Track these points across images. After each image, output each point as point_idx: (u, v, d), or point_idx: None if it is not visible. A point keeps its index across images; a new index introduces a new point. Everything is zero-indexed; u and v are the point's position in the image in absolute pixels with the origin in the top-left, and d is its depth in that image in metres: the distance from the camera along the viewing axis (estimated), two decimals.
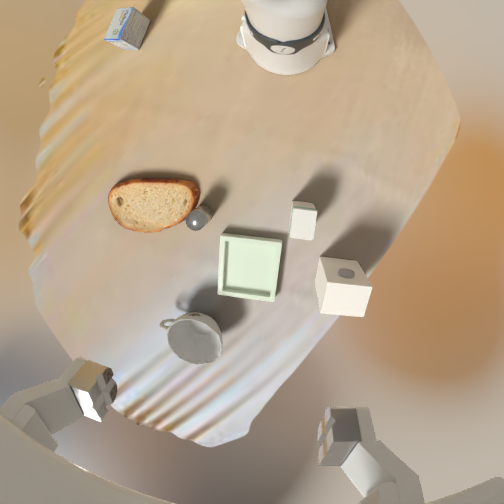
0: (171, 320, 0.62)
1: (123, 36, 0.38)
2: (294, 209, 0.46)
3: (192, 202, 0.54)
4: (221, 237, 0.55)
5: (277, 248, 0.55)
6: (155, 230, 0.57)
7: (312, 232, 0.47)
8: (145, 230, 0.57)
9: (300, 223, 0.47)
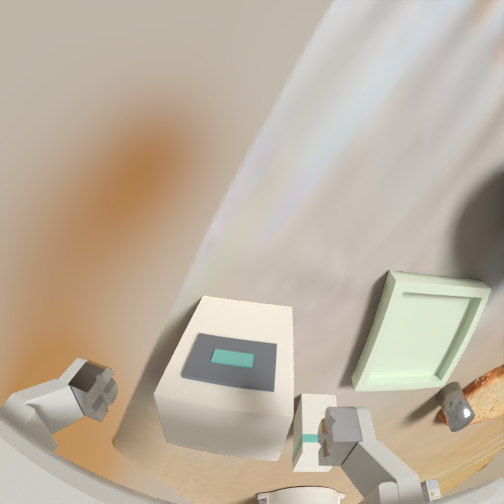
0: None
1: None
2: (327, 470, 0.23)
3: None
4: (443, 384, 0.25)
5: (364, 383, 0.25)
6: None
7: (302, 457, 0.22)
8: None
9: None
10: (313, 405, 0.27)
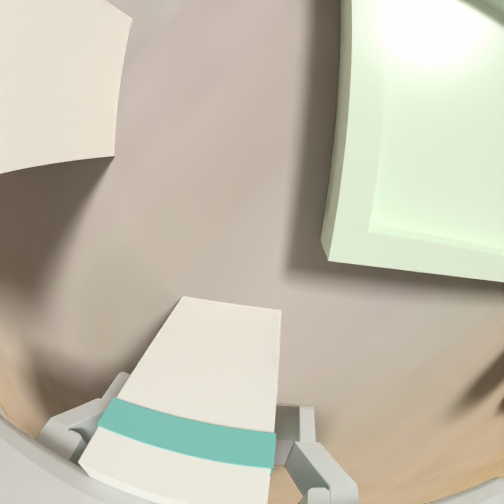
0: None
1: None
2: None
3: None
4: None
5: (360, 222, 0.08)
6: None
7: None
8: None
9: None
10: (202, 325, 0.10)
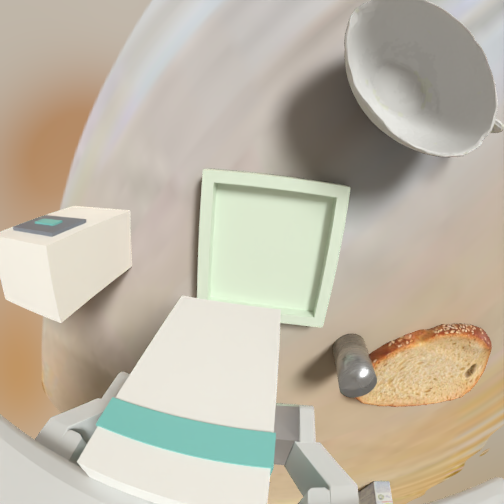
0: None
1: None
2: None
3: None
4: (320, 324, 0.26)
5: None
6: (440, 337, 0.25)
7: None
8: (456, 337, 0.24)
9: None
10: (201, 325, 0.10)
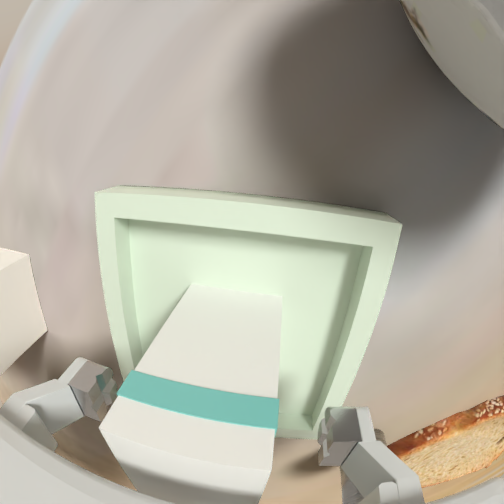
0: None
1: None
2: None
3: None
4: None
5: None
6: (482, 422, 0.13)
7: (122, 457, 0.05)
8: (500, 417, 0.13)
9: (205, 495, 0.06)
10: (210, 308, 0.11)
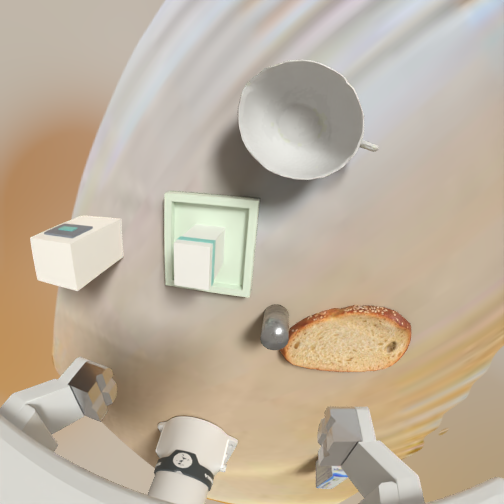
0: None
1: (330, 474, 0.45)
2: (206, 288, 0.31)
3: (286, 345, 0.41)
4: (247, 295, 0.38)
5: (170, 278, 0.39)
6: (349, 314, 0.38)
7: (176, 255, 0.30)
8: (365, 316, 0.37)
9: (195, 268, 0.30)
10: (201, 228, 0.35)
